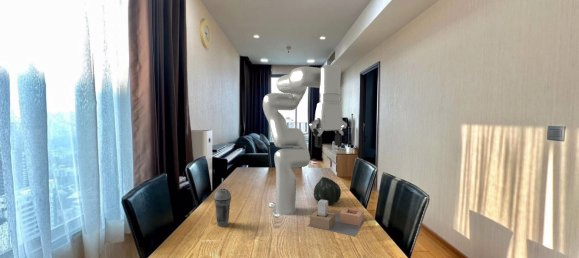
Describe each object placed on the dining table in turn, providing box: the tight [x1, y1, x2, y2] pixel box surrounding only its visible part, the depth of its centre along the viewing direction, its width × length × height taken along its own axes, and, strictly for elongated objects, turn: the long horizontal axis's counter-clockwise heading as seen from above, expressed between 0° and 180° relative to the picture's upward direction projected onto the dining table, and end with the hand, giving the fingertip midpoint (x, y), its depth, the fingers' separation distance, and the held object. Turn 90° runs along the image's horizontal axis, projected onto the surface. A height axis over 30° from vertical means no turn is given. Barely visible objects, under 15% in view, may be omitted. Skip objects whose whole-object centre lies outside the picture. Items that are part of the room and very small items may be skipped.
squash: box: [313, 176, 342, 206], centre depth 147 cm, size 14×15×15 cm
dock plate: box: [307, 206, 366, 237], centre depth 117 cm, size 20×20×6 cm
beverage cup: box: [213, 177, 232, 228], centre depth 116 cm, size 7×7×20 cm
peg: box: [317, 200, 329, 218], centre depth 114 cm, size 3×3×10 cm
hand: (328, 146), depth 100 cm, fingers open, 9 cm apart
